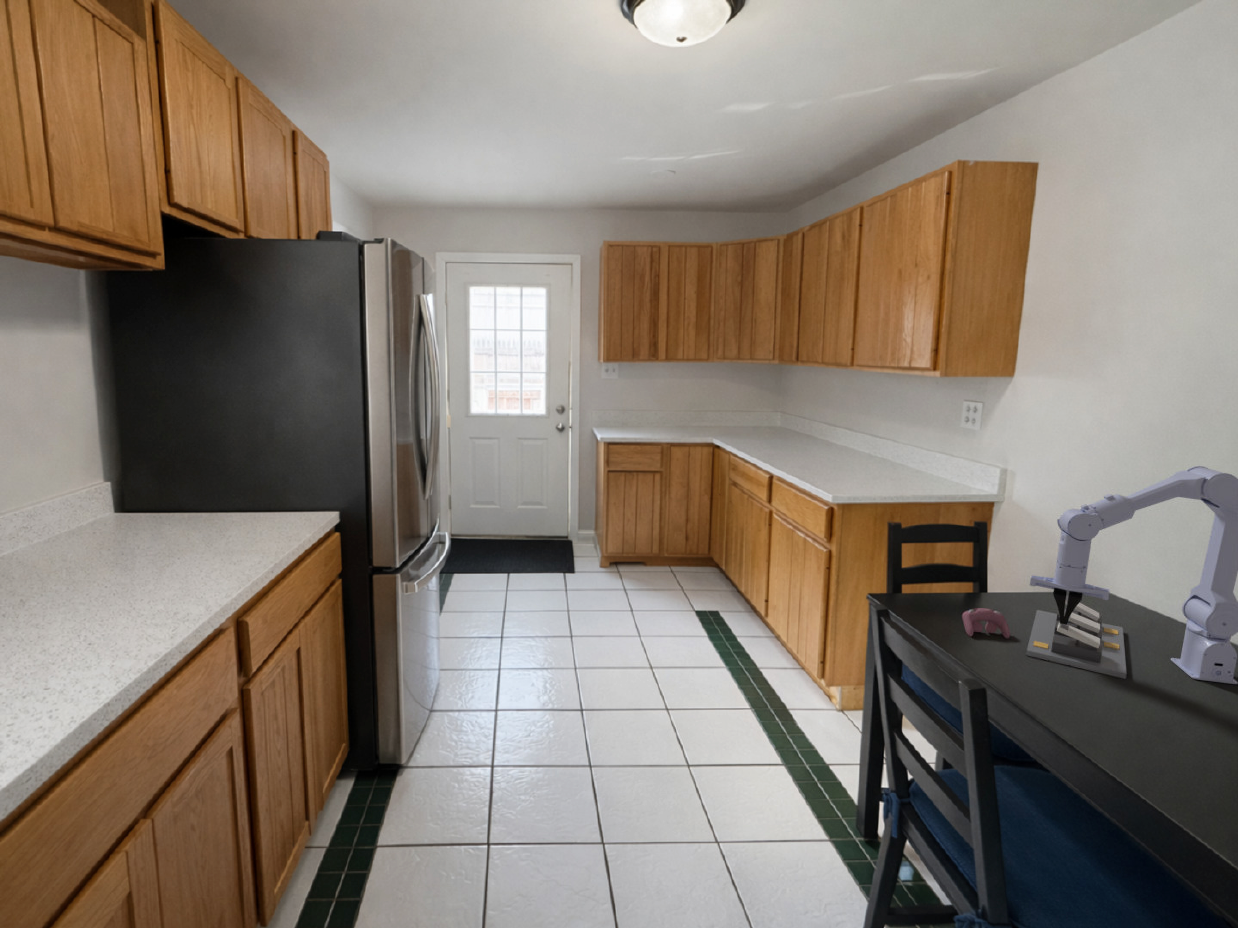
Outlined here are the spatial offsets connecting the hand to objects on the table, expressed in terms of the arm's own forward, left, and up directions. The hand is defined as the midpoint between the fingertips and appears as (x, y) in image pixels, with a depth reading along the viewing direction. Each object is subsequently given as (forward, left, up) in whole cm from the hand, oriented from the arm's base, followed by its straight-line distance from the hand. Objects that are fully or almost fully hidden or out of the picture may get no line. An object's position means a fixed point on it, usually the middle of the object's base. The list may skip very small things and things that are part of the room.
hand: (1063, 622), depth 152 cm
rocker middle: (+8, -6, -2) cm, 11 cm away
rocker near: (-1, -3, -2) cm, 4 cm away
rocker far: (+18, -10, -2) cm, 20 cm away
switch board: (+8, -6, -8) cm, 13 cm away
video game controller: (+8, +13, -8) cm, 17 cm away
